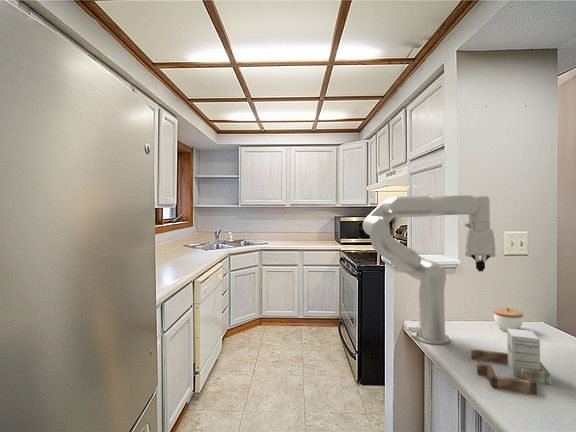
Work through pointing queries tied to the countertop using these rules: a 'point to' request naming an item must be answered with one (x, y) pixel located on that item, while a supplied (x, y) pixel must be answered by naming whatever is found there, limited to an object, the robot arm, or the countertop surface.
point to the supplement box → (523, 350)
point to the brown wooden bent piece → (512, 382)
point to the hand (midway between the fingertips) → (480, 270)
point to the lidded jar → (508, 318)
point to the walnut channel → (483, 355)
